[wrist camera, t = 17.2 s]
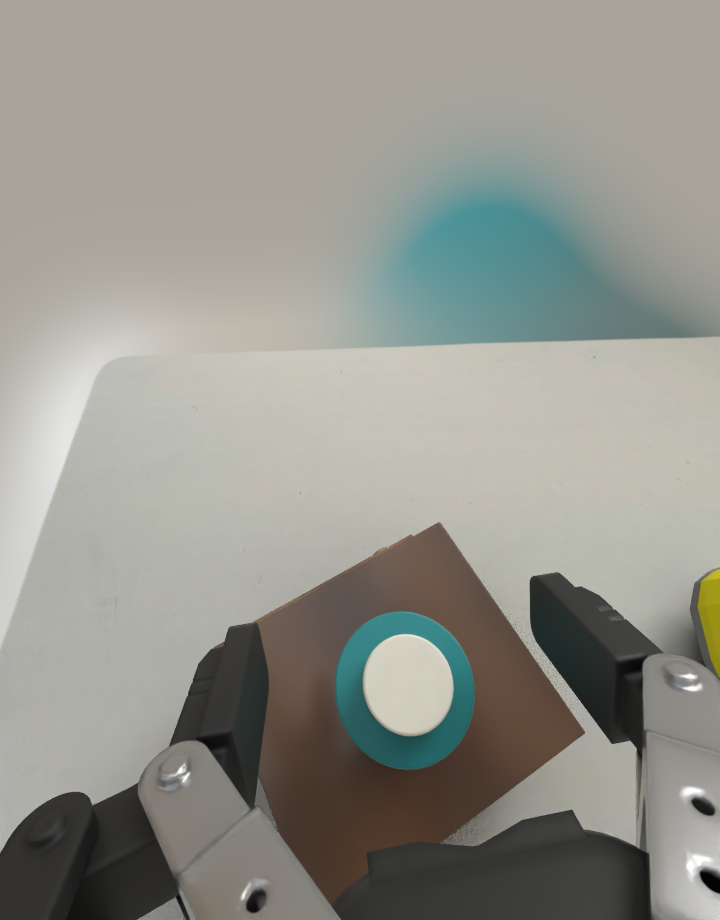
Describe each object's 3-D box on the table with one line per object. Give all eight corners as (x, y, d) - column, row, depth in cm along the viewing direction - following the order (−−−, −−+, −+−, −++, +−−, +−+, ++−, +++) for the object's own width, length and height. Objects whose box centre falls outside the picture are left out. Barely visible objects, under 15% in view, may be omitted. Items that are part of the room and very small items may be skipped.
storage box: (332, 862, 25) (316, 938, 17) (246, 643, 30) (204, 624, 23) (524, 724, 28) (585, 733, 20) (413, 549, 34) (427, 503, 26)
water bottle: (374, 764, 20) (380, 816, 11) (330, 670, 21) (305, 650, 13) (454, 710, 20) (518, 717, 12) (405, 625, 22) (429, 576, 14)
